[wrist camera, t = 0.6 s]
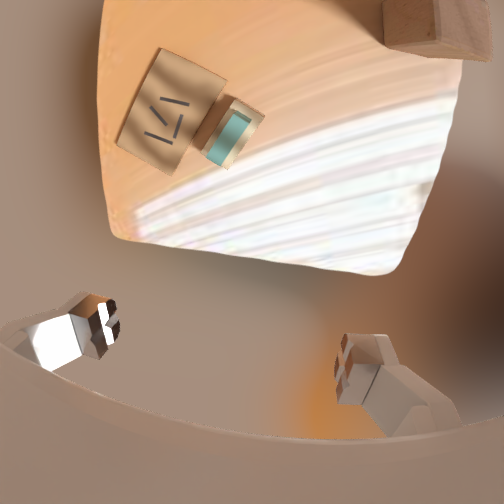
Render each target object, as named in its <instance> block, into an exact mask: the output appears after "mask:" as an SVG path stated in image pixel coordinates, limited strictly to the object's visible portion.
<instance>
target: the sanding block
mask: <svg viewBox="0 0 504 504" xmlns="http://www.w3.org/2000/svg"><path fill="white" fill-rule="evenodd" d="M264 117H265V115H263V114H262V113H260V112H259V111H257V110H255V109H254V108H252V107H251V106H249V105H247V104H246V103H244V102H243V101H241V100H239V99H238V98H236V99H235V100H234V101H233V103H232V104H231V106H230V107H229V109H228V110H227V112H226V113H225V115H224V116H223V118H222V119H221V121H220V122H219V124H218V125H217V127H216V129H215V130H214V132H213V133H212V135H211V137H210V138H209V140H208V141H207V143H206V145H205V146H204V148H203V150H202V151H201V154H202V155H204V156H206V158H207V159H209V160H211V161H212V162H214V163H216V164H217V165H219V166H222V167H224V168H225V169H227V170H228V169H229V167H230V166H231V164H232V163H233V161H234V160H235V158H236V157H237V155H238V154H239V153H240V151H241V150H242V148H243V147H244V145H245V144H246V143H247V141H248V140H249V138H250V137H251V135H252V134H253V133H254V131H255V130H256V128H257V127H258V126H259V124H260V123H261V122H262V120H263V119H264Z"/></svg>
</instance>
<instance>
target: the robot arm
mask: <svg viewBox="0 0 504 504" xmlns="http://www.w3.org/2000/svg"><path fill="white" fill-rule="evenodd" d="M116 310H117V307H116V302H115V301H114V300H113V299H111V298H107V297H103V296H99V295H96V294H92V293H88V292H84V291H83V292H79V293H78V294H76V295H75V296H74V297H73V298H71V299H70V300H69V301H68V302H66V303H65V304H64V305H63V306H61V307H60V308H59V309H58V310H56V309H53V310H50V311H46V312H43V313H39V314H35V315H32V316H29V317H25V318H22V319H18V320H15V321H11V322H8V323H7V324H5V325H4V326H3V327H2V328H1V329H0V504H504V415H503V416H500V417H497V418H493V419H490V420H486V421H483V422H479V423H475V424H471V425H466V426H463V425H462V423H461V421H460V418H459V416H458V413H457V411H456V409H455V407H454V404H453V402H452V401H451V400H450V399H449V398H447V397H446V396H445V395H443V394H442V393H441V392H439V391H438V390H437V389H435V388H434V387H433V386H431V385H430V384H429V383H427V382H426V381H425V380H423V379H422V378H421V377H419V376H418V375H417V374H415V373H414V372H413V371H411V370H410V369H409V368H407V367H406V366H404V365H400V364H399V361H398V359H397V356H396V354H395V351H394V349H393V347H392V344H391V342H390V339H389V337H388V336H387V335H364V334H344V335H343V338H342V341H341V348H342V350H341V351H340V352H339V353H338V354H337V357H336V361H335V367H334V377H335V380H336V381H337V382H338V385H337V388H336V394H337V403H338V404H351V405H362V407H363V408H364V409H365V411H366V412H367V413H368V414H369V415H370V416H371V418H372V419H373V420H374V421H375V423H376V424H377V425H378V426H379V427H380V429H381V430H382V431H383V432H384V434H385V435H386V436H387V437H388V438H376V439H375V438H374V439H350V440H349V439H348V440H347V439H346V440H336V439H334V440H333V439H332V440H331V439H304V438H289V437H278V436H268V435H259V434H252V433H245V432H239V431H232V430H227V429H221V428H216V427H211V426H206V425H201V424H197V423H193V422H188V421H184V420H180V419H176V418H172V417H169V416H165V415H161V414H158V413H155V412H151V411H148V410H145V409H141V408H138V407H135V406H132V405H129V404H126V403H124V402H120V401H118V400H115V399H113V398H110V397H107V396H105V395H102V394H99V393H97V392H95V391H92V390H90V389H87V388H85V387H83V386H80V385H78V384H76V383H74V382H71V381H69V380H67V379H65V378H63V377H61V376H59V375H57V374H55V373H52V372H51V371H53V370H55V369H56V368H58V367H60V366H62V365H64V364H66V363H68V362H70V361H72V360H74V359H75V358H78V357H79V356H81V355H82V354H83V355H86V356H89V357H92V358H95V359H98V360H100V359H101V357H102V356H103V355H104V354H105V352H106V351H107V350H108V345H109V344H111V343H113V342H115V340H116V339H117V338H118V335H119V332H120V322H119V319H118V317H117V316H116V315H115V312H116Z"/></svg>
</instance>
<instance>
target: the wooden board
mask: <svg viewBox="0 0 504 504" xmlns="http://www.w3.org/2000/svg"><path fill="white" fill-rule="evenodd" d="M227 82H228V81H227V80H226V79H224V78H222V77H220V76H218V75H216V74H215V73H213V72H211V71H209V70H207V69H205V68H203V67H201V66H199V65H197V64H195V63H193V62H191V61H189V60H187V59H185V58H183V57H181V56H179V55H176V54H174V53H172V52H170V51H168V50H165V49H161V51H160V53H159V54H158V56H157V58H156V60H155V62H154V63H153V65H152V67H151V69H150V71H149V73H148V75H147V77H146V79H145V81H144V83H143V85H142V87H141V89H140V91H139V93H138V95H137V97H136V100H135V102H134V104H133V106H132V108H131V111H130V113H129V115H128V118H127V120H126V122H125V125H124V127H123V130H122V132H121V135H120V137H119V140H118V142H117V146H118V147H120V148H122V149H124V150H125V151H127V152H129V153H131V154H133V155H134V156H136V157H138V158H140V159H141V160H143V161H145V162H147V163H148V164H150V165H152V166H154V167H155V168H157V169H159V170H161V171H162V172H164V173H166V174H167V175H169V176H172V175H173V174H174V172H175V170H176V168H177V166H178V164H179V163H180V161H181V159H182V157H183V155H184V153H185V151H186V150H187V148H188V146H189V144H190V142H191V141H192V139H193V137H194V135H195V134H196V132H197V130H198V128H199V127H200V125H201V123H202V122H203V120H204V118H205V117H206V115H207V113H208V112H209V110H210V108H211V107H212V105H213V103H214V102H215V100H216V99H217V97H218V95H219V94H220V92H221V91H222V89H223V88H224V86H225V85H226V83H227Z"/></svg>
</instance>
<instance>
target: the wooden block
mask: <svg viewBox="0 0 504 504" xmlns="http://www.w3.org/2000/svg"><path fill="white" fill-rule="evenodd" d="M382 12H383V27H384V44H385V46H386V47H387V48H389V49H393V50H398V51H402V52H407V53H411V54H416V55H420V56H424V57H427V58H448V59H463V60H474V61H483V62H489V61H491V60H492V58H493V49H492V32H491V21H490V12H489V6H488V3H487V2H486V1H485V0H384V1H383V3H382Z"/></svg>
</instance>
